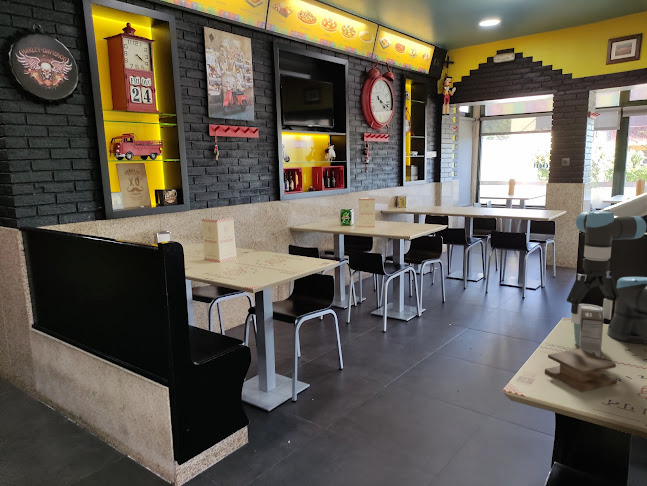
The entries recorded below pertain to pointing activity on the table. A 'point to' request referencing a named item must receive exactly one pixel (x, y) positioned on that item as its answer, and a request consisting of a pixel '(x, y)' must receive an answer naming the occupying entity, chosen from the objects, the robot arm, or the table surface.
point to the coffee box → (591, 332)
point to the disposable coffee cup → (577, 326)
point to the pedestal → (581, 370)
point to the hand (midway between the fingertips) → (591, 320)
